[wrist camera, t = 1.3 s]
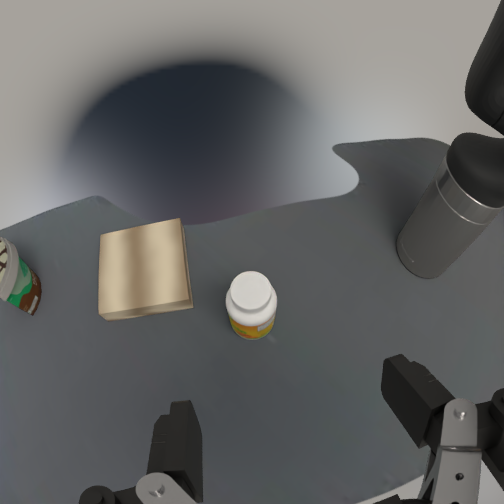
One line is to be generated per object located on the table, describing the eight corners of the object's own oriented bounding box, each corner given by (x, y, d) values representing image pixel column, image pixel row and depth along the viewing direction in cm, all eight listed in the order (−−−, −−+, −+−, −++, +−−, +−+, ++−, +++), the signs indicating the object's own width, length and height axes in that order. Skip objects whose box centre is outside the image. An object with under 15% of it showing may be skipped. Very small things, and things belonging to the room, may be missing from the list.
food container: (60, 291, 41) (22, 259, 32) (37, 321, 38) (-4, 295, 29) (26, 252, 44) (-6, 219, 35) (6, 278, 42) (-29, 249, 33)
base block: (184, 229, 45) (179, 217, 43) (193, 307, 39) (188, 299, 37) (108, 245, 44) (100, 234, 42) (108, 321, 38) (98, 314, 36)
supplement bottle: (221, 317, 39) (211, 286, 30) (254, 291, 40) (253, 254, 32) (249, 349, 37) (246, 327, 28) (283, 321, 38) (290, 292, 30)
